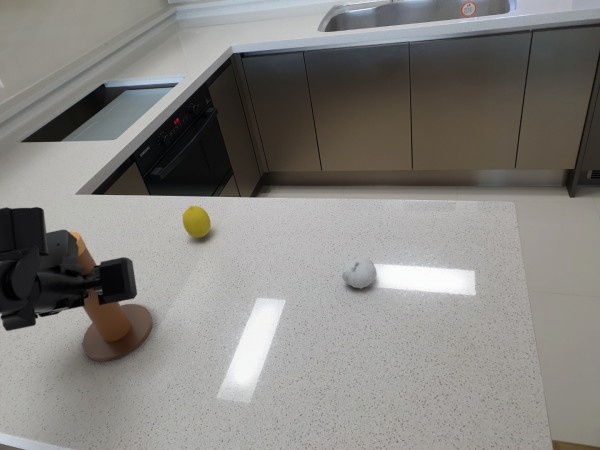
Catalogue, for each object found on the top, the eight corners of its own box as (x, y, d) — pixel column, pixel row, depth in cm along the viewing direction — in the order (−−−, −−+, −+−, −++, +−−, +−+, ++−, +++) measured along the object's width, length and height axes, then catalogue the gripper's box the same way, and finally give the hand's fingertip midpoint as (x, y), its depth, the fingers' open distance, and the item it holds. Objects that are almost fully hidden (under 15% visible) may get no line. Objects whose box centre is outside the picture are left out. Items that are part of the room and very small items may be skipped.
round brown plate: (99, 374, 74) (97, 371, 74) (75, 335, 82) (72, 332, 82) (164, 329, 80) (162, 326, 79) (135, 296, 87) (133, 293, 87)
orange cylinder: (130, 337, 78) (76, 248, 66) (99, 345, 78) (40, 257, 66) (132, 315, 82) (82, 227, 71) (104, 323, 82) (48, 236, 70)
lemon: (212, 243, 97) (201, 212, 92) (187, 246, 97) (174, 216, 92) (216, 227, 101) (206, 197, 96) (192, 230, 102) (180, 200, 97)
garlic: (354, 299, 78) (351, 277, 74) (338, 280, 82) (334, 258, 78) (384, 284, 79) (382, 262, 76) (367, 266, 83) (364, 245, 80)
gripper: (101, 216, 62) (145, 231, 77) (-33, 244, 62) (37, 253, 78) (113, 298, 60) (155, 297, 76) (-25, 327, 60) (45, 319, 76)
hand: (97, 289), depth 76 cm, fingers closed on orange cylinder, 5 cm apart
